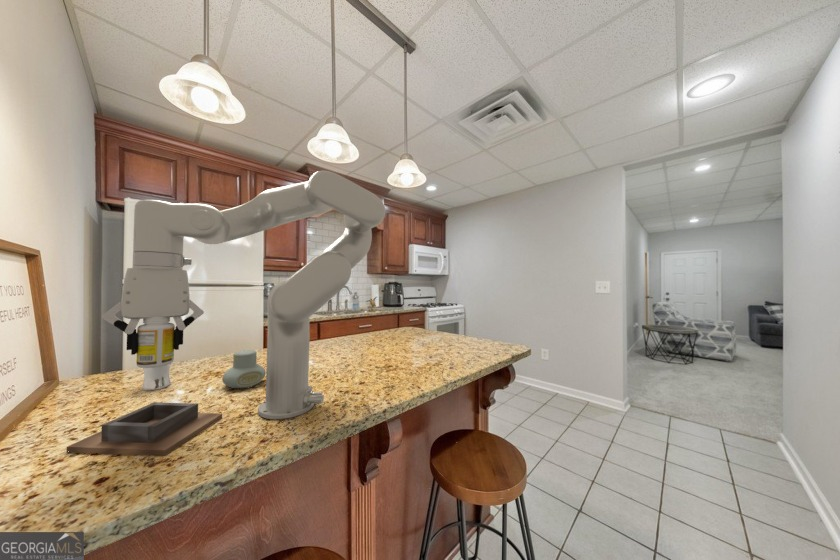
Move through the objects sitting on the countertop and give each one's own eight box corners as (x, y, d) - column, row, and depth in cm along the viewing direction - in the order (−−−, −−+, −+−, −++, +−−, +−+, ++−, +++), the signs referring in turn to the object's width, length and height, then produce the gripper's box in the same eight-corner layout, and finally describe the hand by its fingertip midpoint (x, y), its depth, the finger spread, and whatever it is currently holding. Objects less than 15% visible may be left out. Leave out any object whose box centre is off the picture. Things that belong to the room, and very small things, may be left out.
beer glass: (176, 385, 83) (177, 334, 83) (144, 393, 77) (145, 338, 77) (167, 380, 86) (169, 332, 87) (136, 387, 81) (138, 335, 81)
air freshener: (258, 377, 91) (259, 346, 91) (269, 384, 86) (270, 351, 86) (218, 387, 82) (219, 352, 83) (227, 394, 77) (228, 358, 77)
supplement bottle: (171, 359, 61) (173, 312, 61) (175, 364, 57) (177, 315, 58) (134, 364, 57) (136, 314, 57) (136, 370, 53) (139, 316, 53)
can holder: (222, 418, 64) (222, 400, 64) (164, 455, 50) (165, 433, 50) (144, 415, 64) (145, 398, 64) (66, 452, 50) (67, 430, 50)
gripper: (208, 265, 66) (206, 342, 66) (98, 260, 54) (94, 353, 54) (213, 264, 61) (210, 348, 60) (91, 258, 49) (88, 362, 49)
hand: (155, 349), depth 57 cm, fingers closed on supplement bottle, 5 cm apart
